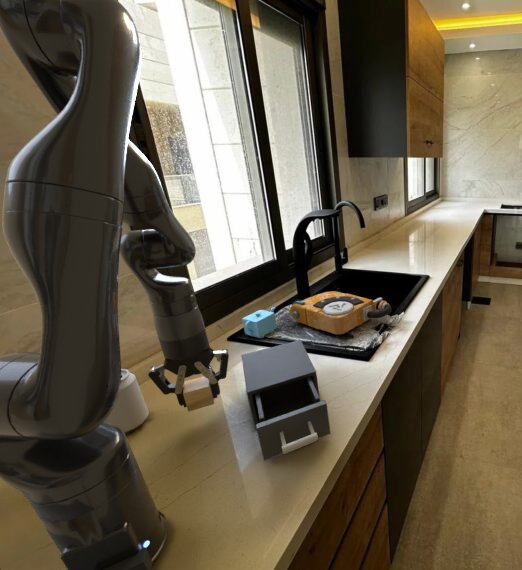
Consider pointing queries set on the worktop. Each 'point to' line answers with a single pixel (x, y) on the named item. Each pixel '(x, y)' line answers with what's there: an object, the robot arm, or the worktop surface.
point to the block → (197, 393)
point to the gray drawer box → (275, 370)
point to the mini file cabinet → (290, 417)
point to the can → (128, 404)
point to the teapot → (260, 323)
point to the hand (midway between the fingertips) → (201, 400)
